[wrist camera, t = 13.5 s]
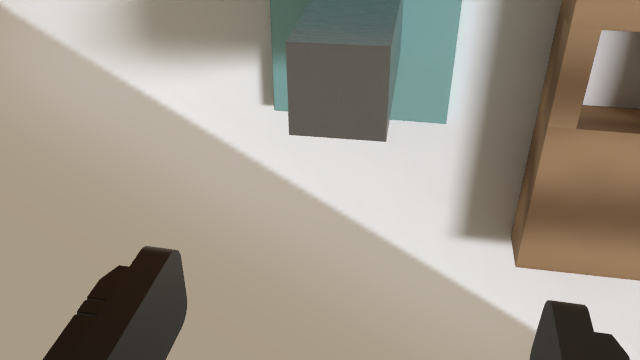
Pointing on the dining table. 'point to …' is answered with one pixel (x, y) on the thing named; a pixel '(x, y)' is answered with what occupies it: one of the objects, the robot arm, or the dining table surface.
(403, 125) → the dining table surface
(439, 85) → the teal pad
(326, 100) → the steel plug
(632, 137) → the brown slotted block
